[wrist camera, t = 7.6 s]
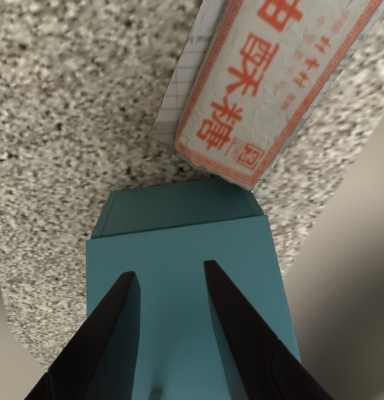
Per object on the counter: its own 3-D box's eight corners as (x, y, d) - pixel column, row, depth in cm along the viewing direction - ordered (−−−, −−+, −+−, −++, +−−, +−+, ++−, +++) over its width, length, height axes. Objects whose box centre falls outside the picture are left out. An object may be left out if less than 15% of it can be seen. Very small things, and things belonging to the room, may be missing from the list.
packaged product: (273, 210, 18) (141, 156, 15) (255, 180, 22) (149, 132, 19) (549, -141, 9) (371, -411, 7) (435, -84, 14) (296, -236, 11)
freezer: (241, 273, 28) (259, 325, 22) (141, 287, 27) (134, 343, 22) (240, 173, 21) (264, 212, 16) (110, 191, 21) (89, 236, 16)
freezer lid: (323, 475, 12) (401, 604, 7) (94, 509, 12) (26, 661, 7) (264, 217, 16) (291, 193, 11) (90, 241, 16) (44, 228, 11)
